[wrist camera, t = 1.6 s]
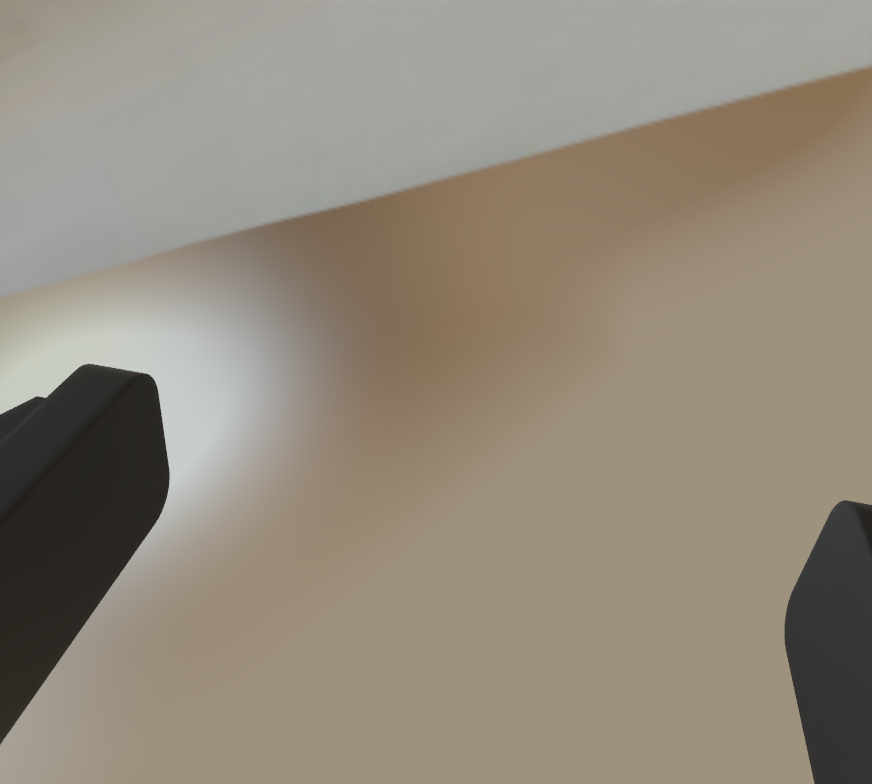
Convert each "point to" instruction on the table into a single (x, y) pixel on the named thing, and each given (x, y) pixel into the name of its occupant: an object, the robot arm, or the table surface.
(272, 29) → the table surface
